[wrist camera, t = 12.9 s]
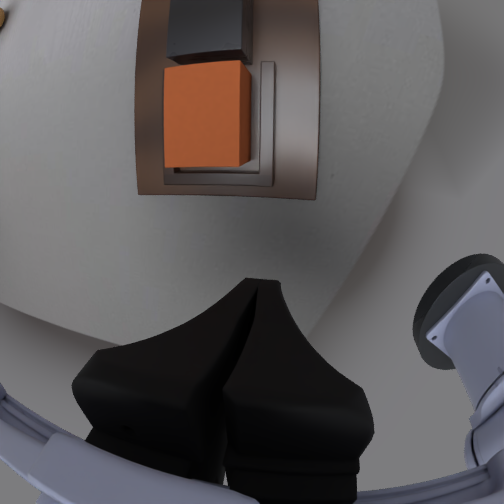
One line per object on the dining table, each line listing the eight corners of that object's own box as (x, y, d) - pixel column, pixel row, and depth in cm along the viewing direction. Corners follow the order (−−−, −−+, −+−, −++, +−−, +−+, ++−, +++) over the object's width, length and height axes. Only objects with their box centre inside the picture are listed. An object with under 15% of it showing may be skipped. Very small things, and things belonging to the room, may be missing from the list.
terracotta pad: (250, 160, 17) (239, 167, 14) (188, 161, 17) (164, 167, 14) (251, 73, 15) (240, 59, 12) (188, 78, 15) (164, 68, 12)
